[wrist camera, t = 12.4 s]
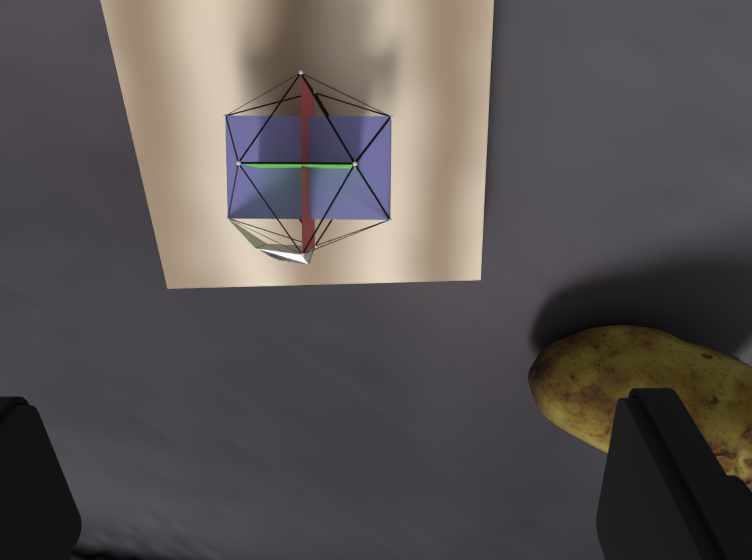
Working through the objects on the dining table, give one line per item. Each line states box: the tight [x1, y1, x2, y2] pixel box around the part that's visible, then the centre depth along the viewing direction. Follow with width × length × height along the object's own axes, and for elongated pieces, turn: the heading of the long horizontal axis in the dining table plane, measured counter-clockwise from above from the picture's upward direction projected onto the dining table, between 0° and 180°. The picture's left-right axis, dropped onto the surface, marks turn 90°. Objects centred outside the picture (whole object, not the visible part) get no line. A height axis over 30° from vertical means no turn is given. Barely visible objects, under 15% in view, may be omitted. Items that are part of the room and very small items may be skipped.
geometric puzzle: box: [223, 70, 393, 264], centre depth 25 cm, size 7×7×8 cm
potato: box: [528, 325, 752, 490], centre depth 33 cm, size 8×13×8 cm, turn 64°
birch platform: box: [101, 0, 494, 289], centre depth 29 cm, size 16×14×3 cm
